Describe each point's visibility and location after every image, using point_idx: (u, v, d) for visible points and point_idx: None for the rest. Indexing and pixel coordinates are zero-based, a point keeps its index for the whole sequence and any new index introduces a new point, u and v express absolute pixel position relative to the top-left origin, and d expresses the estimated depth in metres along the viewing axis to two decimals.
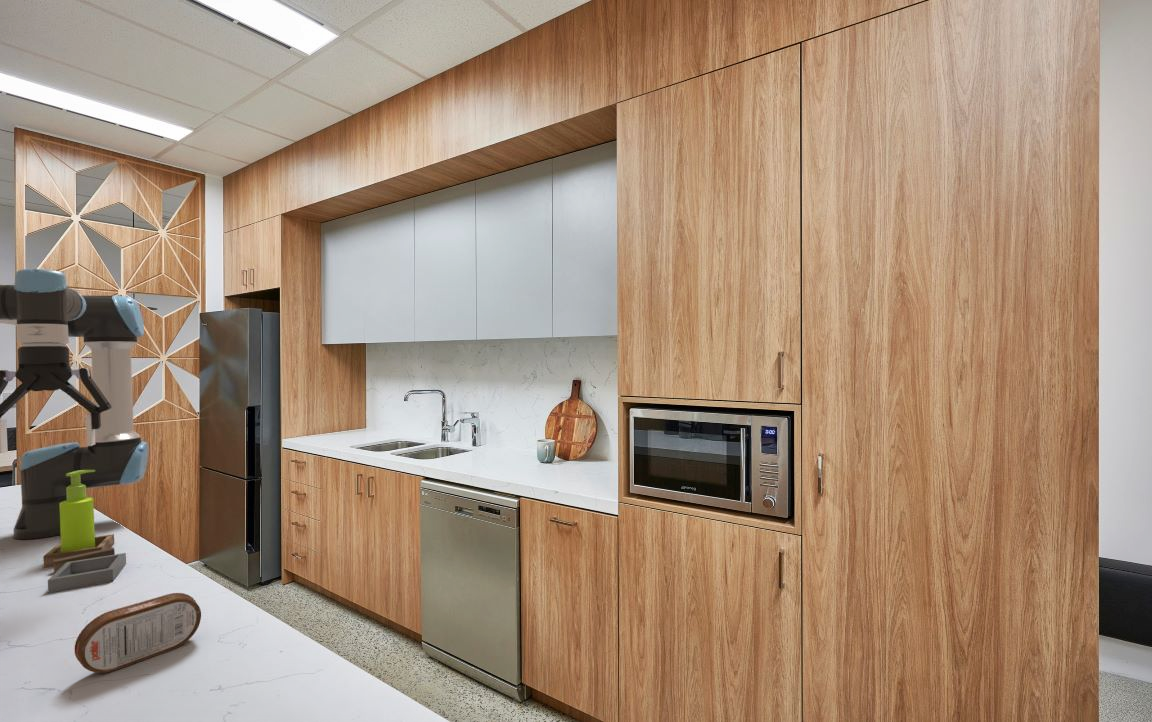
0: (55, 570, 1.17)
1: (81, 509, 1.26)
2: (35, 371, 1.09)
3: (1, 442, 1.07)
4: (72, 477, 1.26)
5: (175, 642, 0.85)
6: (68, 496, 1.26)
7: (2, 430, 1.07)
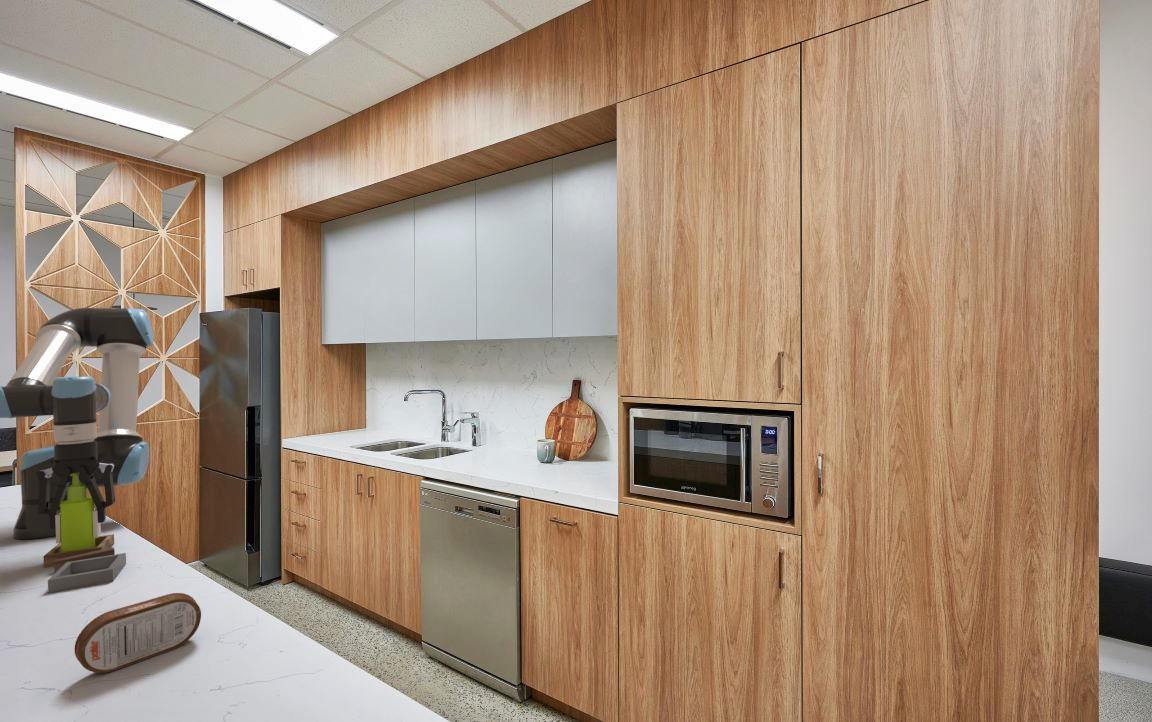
0: (55, 570, 1.17)
1: (81, 509, 1.26)
2: (66, 462, 1.26)
3: (60, 533, 1.25)
4: (73, 477, 1.26)
5: (175, 642, 0.85)
6: (69, 496, 1.26)
7: None
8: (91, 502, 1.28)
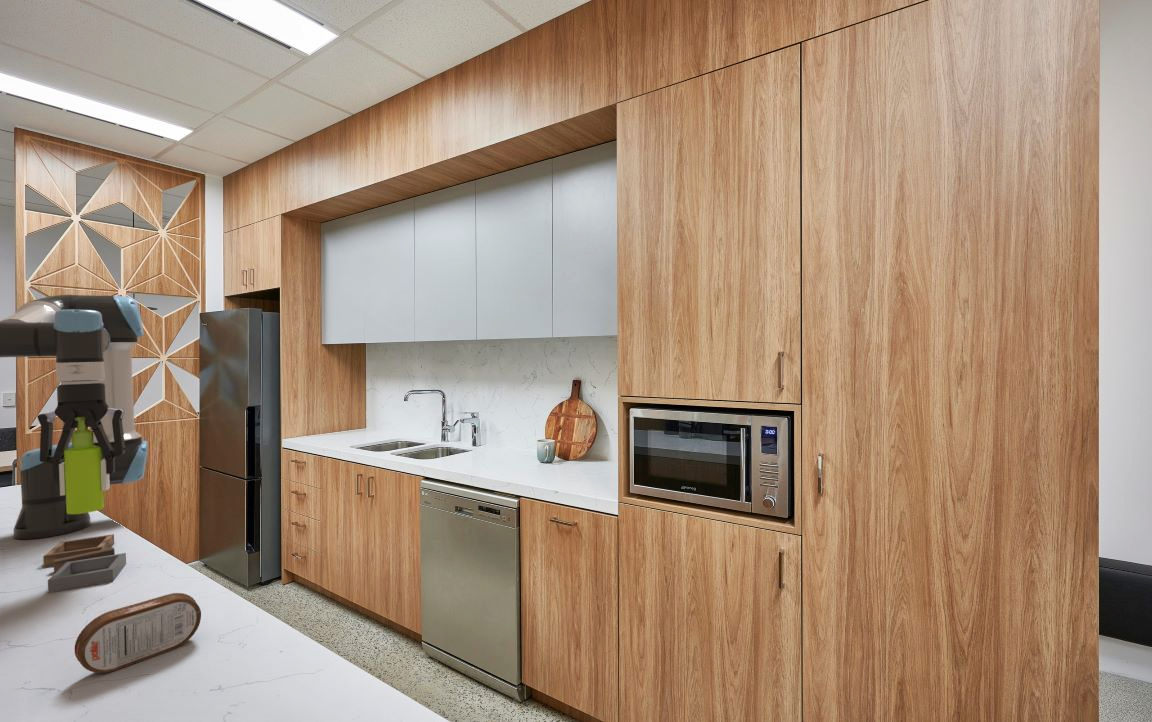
0: (55, 570, 1.17)
1: (88, 457, 1.12)
2: (71, 405, 1.12)
3: (64, 484, 1.12)
4: (78, 422, 1.13)
5: (175, 642, 0.85)
6: (74, 443, 1.12)
7: None
8: (99, 450, 1.14)
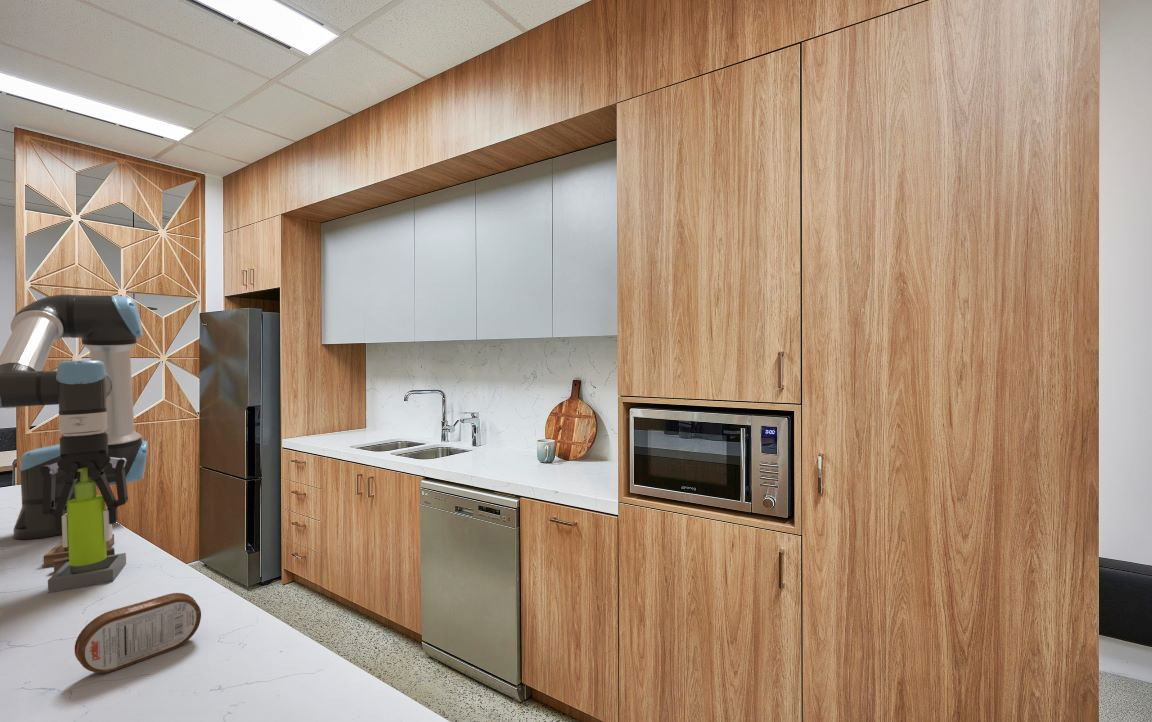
0: (55, 570, 1.17)
1: (91, 508, 1.12)
2: (74, 456, 1.12)
3: (67, 536, 1.12)
4: (81, 473, 1.13)
5: (175, 642, 0.85)
6: (76, 494, 1.12)
7: None
8: (101, 501, 1.14)
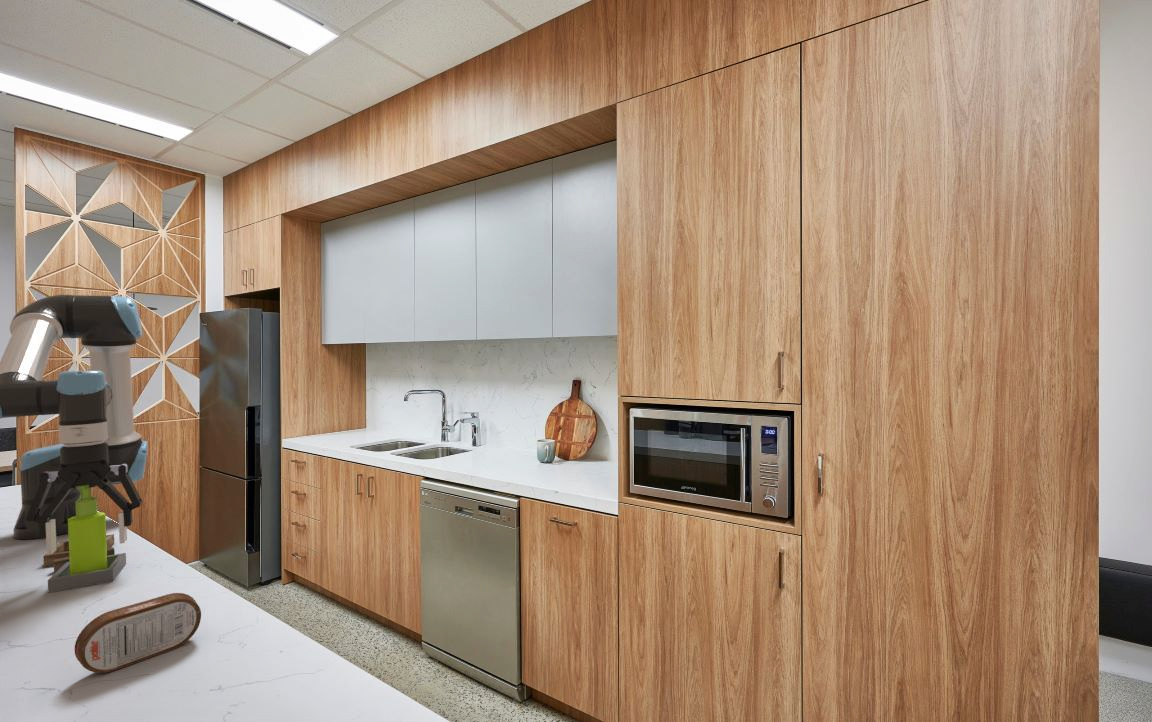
0: (55, 570, 1.17)
1: (92, 526, 1.12)
2: (76, 468, 1.12)
3: (51, 543, 1.10)
4: (82, 490, 1.13)
5: (175, 642, 0.85)
6: (78, 511, 1.12)
7: (52, 531, 1.11)
8: (102, 518, 1.14)
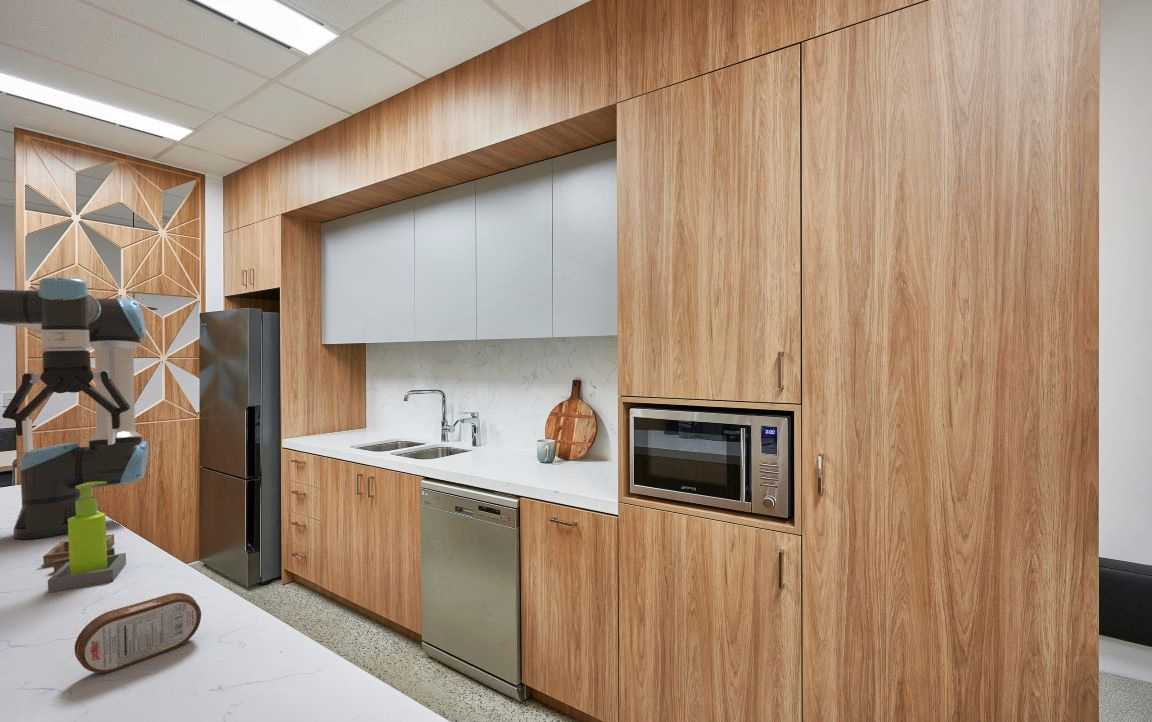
0: (55, 570, 1.17)
1: (92, 526, 1.12)
2: (59, 374, 1.15)
3: (28, 441, 1.13)
4: (82, 490, 1.13)
5: (175, 642, 0.85)
6: (77, 511, 1.12)
7: (28, 430, 1.14)
8: (102, 518, 1.14)
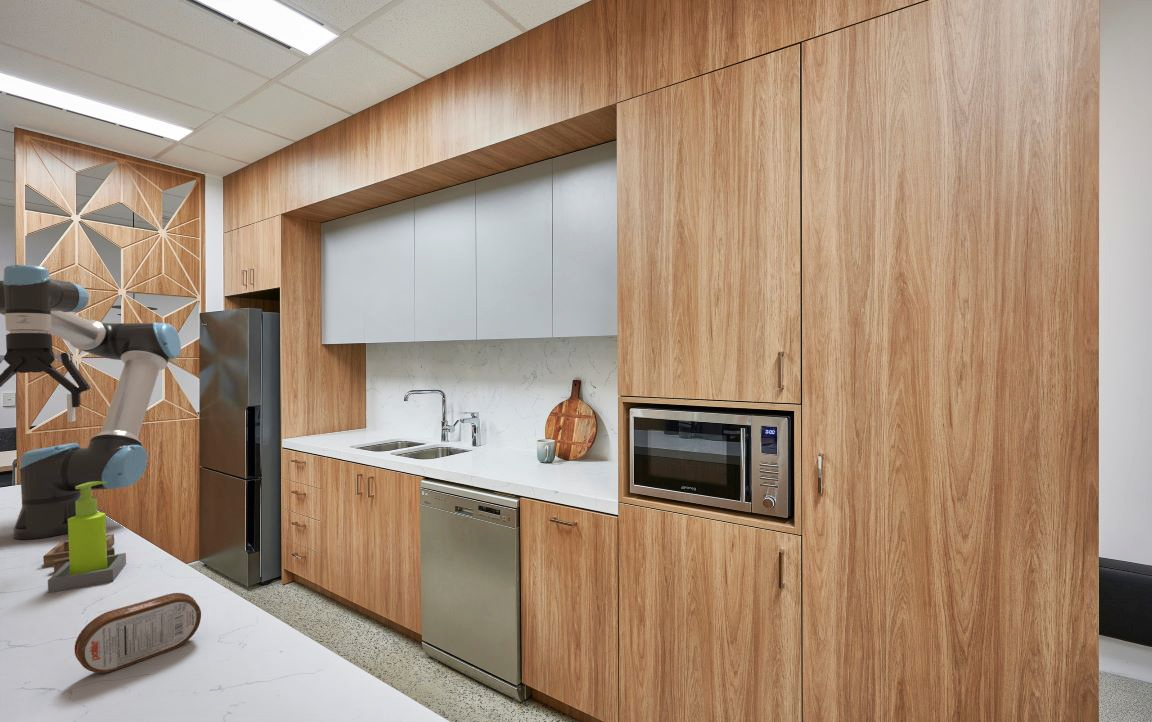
0: (55, 570, 1.17)
1: (92, 526, 1.12)
2: (21, 355, 1.24)
3: None
4: (82, 490, 1.13)
5: (175, 642, 0.85)
6: (78, 511, 1.12)
7: None
8: (102, 518, 1.14)
